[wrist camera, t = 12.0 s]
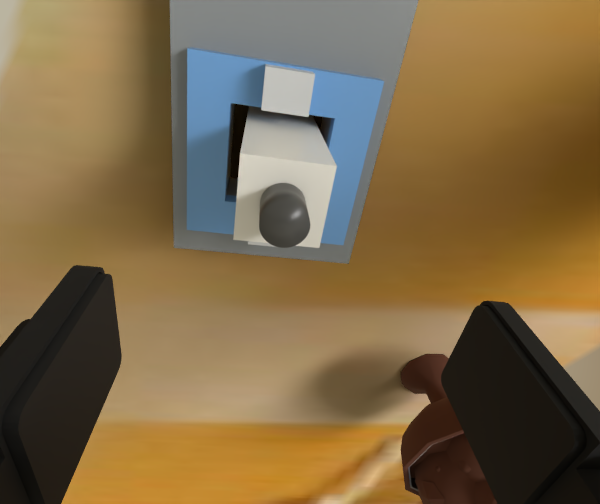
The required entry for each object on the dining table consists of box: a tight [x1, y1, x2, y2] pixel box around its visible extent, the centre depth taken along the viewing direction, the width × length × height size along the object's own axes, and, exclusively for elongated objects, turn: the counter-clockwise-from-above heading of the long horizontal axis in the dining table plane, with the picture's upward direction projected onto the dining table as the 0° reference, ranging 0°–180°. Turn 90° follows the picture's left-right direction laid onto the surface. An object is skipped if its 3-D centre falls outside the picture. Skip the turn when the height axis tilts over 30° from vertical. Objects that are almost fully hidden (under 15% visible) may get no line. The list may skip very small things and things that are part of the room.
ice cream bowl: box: [401, 354, 497, 504], centre depth 32 cm, size 11×11×15 cm
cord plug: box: [233, 106, 337, 248], centre depth 20 cm, size 4×4×12 cm
